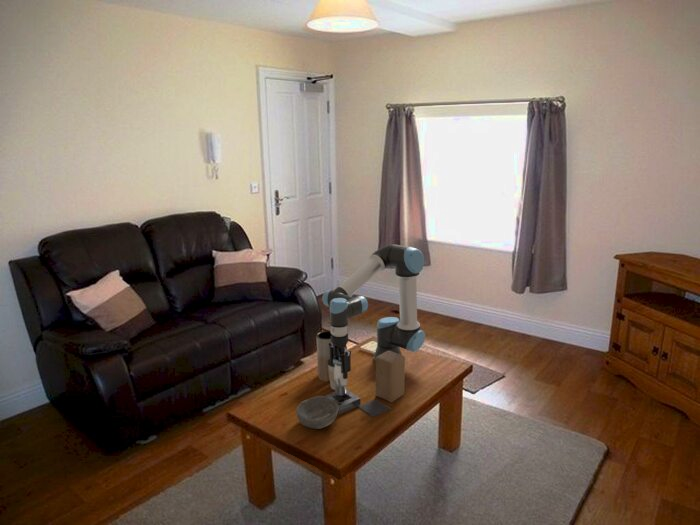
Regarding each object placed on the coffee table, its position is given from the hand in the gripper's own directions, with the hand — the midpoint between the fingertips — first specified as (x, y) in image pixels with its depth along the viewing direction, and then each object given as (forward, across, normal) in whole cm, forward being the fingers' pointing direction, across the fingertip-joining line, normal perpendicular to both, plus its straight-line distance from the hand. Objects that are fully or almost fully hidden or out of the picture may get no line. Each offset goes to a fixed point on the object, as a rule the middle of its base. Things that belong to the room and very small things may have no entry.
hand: (340, 382), depth 220 cm
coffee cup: (+12, -14, +8) cm, 20 cm away
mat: (+11, +12, +9) cm, 19 cm away
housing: (+11, 0, 0) cm, 11 cm away
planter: (+12, -25, +10) cm, 29 cm away
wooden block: (+12, +8, +22) cm, 26 cm away
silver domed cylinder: (+5, 0, 0) cm, 5 cm away
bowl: (+12, +6, -16) cm, 21 cm away
